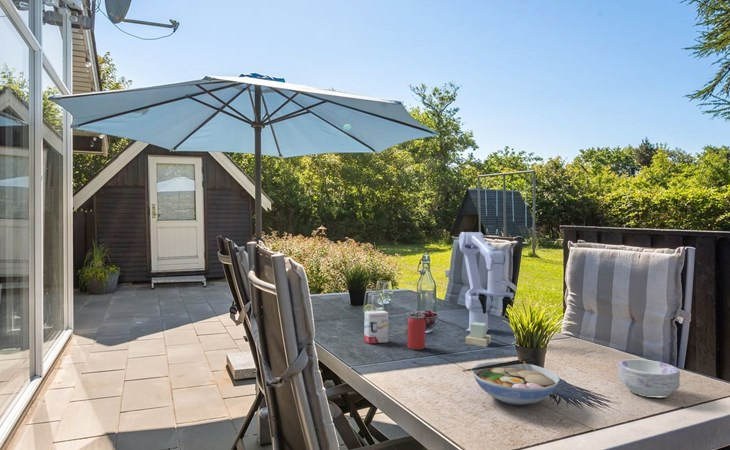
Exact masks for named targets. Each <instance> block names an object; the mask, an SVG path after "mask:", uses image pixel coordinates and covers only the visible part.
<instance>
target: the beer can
mask: <svg viewBox="0 0 730 450" xmlns="http://www.w3.org/2000/svg"><path fill="white" fill-rule="evenodd" d="M426 324H427V323H426V319H425V316H424V315H421V314H411V315H409V317H408V320H407V343H406V344H407V349H410V350H413V351H422V350H424V349H425V348H426Z"/></svg>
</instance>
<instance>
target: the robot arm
mask: <svg viewBox="0 0 730 450" xmlns="http://www.w3.org/2000/svg"><path fill="white" fill-rule="evenodd" d="M484 238H485V237H484V234H483V233H482V232H481V231H478V232H477V231H475V232H474V231H473V232H472V231H465V232H464V231H461V232H460V234H459V235H458V244H459V249H460V252H461V253H462V254H463V256H464V262H465V267H466V273H467V278H468V283H469V289H468V290H467V291H466V292H465V295H464V296H465V300H464V301H465V306H466V308H467V310H469V314H468V315H469V317H468V318H469V319H468V321H469V322H468V323H469V326H468V328H467V329H465V331H466V332H470V325H471V324H472V323H473V322H479V323H487V329H486V332H488V331H489V330H490V327H488V325H489V323H488V321H489V320H488V319H489V317H488V314H489V313H488V311H489V310H490V307H491V306H492V299H491V297H495V298H496V297H498V298H502V299H501V300H502V301H501V302H502V311H501V313H502V314H501V315H502V316H503V317H504V316H506V312H507V309H508V306H509V304H510V301H511V300H512V299H514V292H510V291H509V292H508V291H503V267H504V266H503V265H505V263H506V253H505V251H503V250H498V249H496V247H495V246H494V245H493V244H492V243H491V242H487V241H486V240H485V239H484ZM479 252H480V254H481V255H482V256H483V257H484V258H485V263H486V269H487V289H485V288H484V287H482V281H481V277H480V272H479V267H478V262H477V261H478V260H477V256H476V255H477V254H478V253H479ZM507 305H508V306H507ZM506 308H507V309H506Z"/></svg>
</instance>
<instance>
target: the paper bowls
mask: <svg viewBox="0 0 730 450" xmlns="http://www.w3.org/2000/svg"><path fill="white" fill-rule="evenodd" d="M617 366H618V368H617V370H618V376H617V377H618V380H619V382H621V383H623V384H624V385H625V387H626V389H627V390H628V391H629V390H630V391H632V392H634V393H637V394H641V395H645V396H668V395H669V396H670V395H671V393H672V391H676V390H678V389H680V385H681V383H680V381H681V380H680V377H681V376H680V369H678V367H676V366H675V365H672V364H669V363H665V362H662V361H658V360H650V359H645V358H644V359H642V358H641V359H640V358H630V359H629V358H628V359H623V360H620V361H619V362H618V365H617ZM630 391H629V392H630ZM632 392H631V393H632ZM634 393H633V394H634ZM669 396H668V397H669Z"/></svg>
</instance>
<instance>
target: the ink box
mask: <svg viewBox="0 0 730 450" xmlns="http://www.w3.org/2000/svg"><path fill="white" fill-rule="evenodd" d="M363 322H364V324H363V325H364V327H363V328H364V329H363V330H364V331H363V333H364V335H363V337H364V338H363V341H364V342H365V343H367V344H369V345H371V344H381V343H389V312H387V311H385V310H366V311H364V321H363Z"/></svg>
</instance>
